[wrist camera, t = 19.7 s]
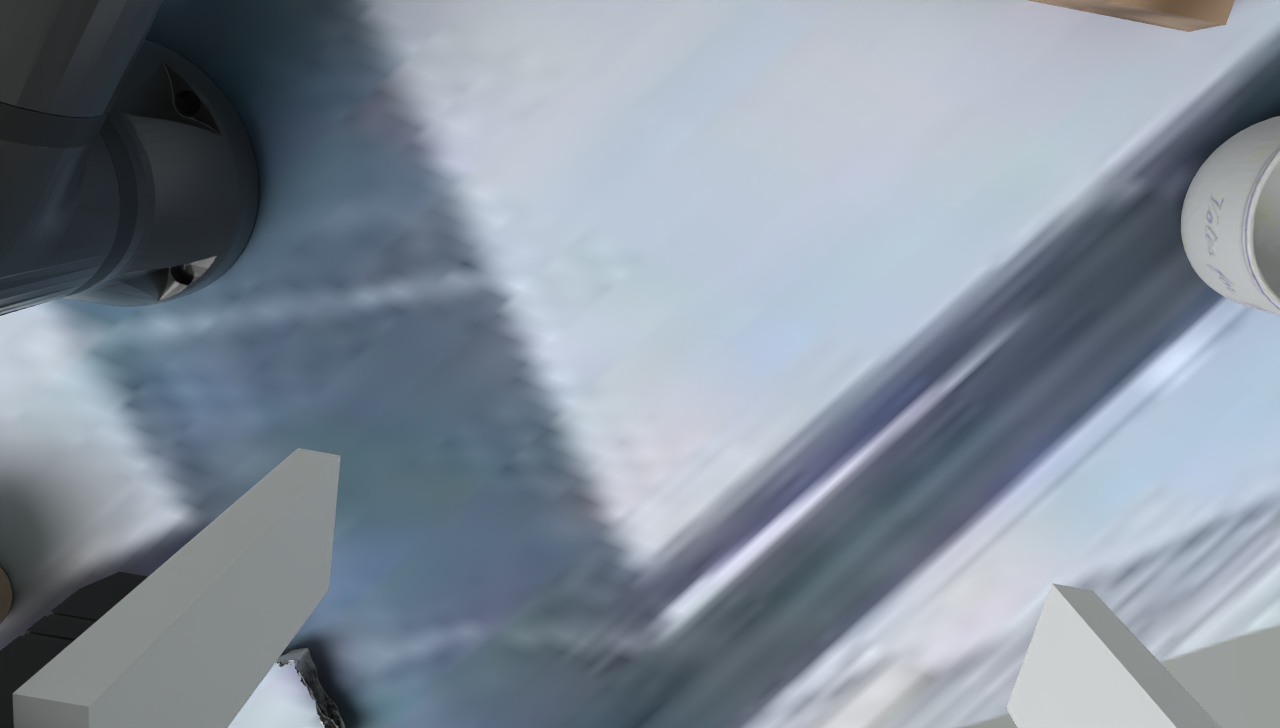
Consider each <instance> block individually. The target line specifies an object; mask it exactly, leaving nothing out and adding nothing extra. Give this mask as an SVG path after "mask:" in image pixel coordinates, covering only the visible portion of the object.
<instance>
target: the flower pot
mask: <svg viewBox="0 0 1280 728" xmlns="http://www.w3.org/2000/svg"><path fill="white" fill-rule="evenodd" d="M12 598H13V595H12V588H11V584H10V581H9V579H8V577H7V575H6V573H5V572H4V570H3V569H2V568H1V566H0V624H1V622H2V621H3V620H4V618H5V617H6V615H7V614H8V612H9V610H10V608H11V605H12Z"/></svg>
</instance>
